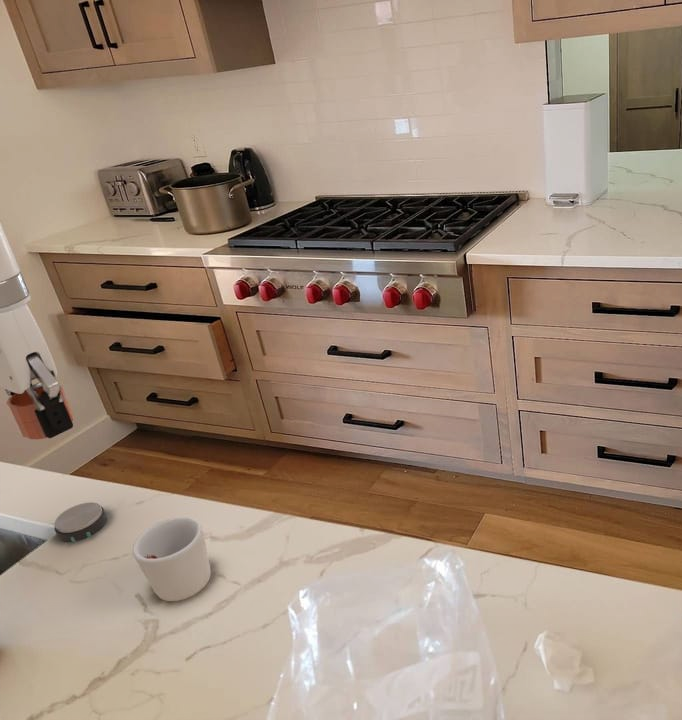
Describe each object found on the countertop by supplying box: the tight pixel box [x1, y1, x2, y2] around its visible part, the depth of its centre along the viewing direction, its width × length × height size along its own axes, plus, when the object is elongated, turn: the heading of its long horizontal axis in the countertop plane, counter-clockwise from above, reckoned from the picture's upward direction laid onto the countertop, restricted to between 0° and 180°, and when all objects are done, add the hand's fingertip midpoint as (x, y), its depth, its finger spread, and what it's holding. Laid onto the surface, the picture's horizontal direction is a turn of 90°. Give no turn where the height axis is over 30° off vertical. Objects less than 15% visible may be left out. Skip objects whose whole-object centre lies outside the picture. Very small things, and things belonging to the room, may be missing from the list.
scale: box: [54, 502, 108, 543], centre depth 97 cm, size 6×6×3 cm
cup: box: [132, 516, 211, 602], centre depth 85 cm, size 11×8×8 cm
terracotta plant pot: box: [6, 385, 75, 440], centre depth 86 cm, size 6×6×5 cm
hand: (46, 424), depth 87 cm, fingers closed on terracotta plant pot, 6 cm apart
